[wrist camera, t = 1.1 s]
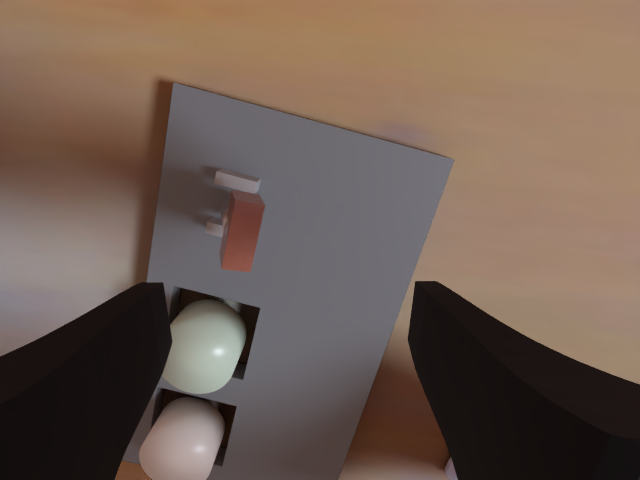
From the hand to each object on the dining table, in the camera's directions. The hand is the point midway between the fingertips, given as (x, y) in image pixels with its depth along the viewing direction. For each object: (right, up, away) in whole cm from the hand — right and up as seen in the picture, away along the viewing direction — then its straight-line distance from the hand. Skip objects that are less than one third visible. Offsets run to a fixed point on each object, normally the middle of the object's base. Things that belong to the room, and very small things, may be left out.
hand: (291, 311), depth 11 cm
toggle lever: (-4, +4, +8) cm, 10 cm away
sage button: (-6, -3, +12) cm, 13 cm away
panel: (-2, -3, +13) cm, 13 cm away
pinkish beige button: (-7, -10, +14) cm, 18 cm away
